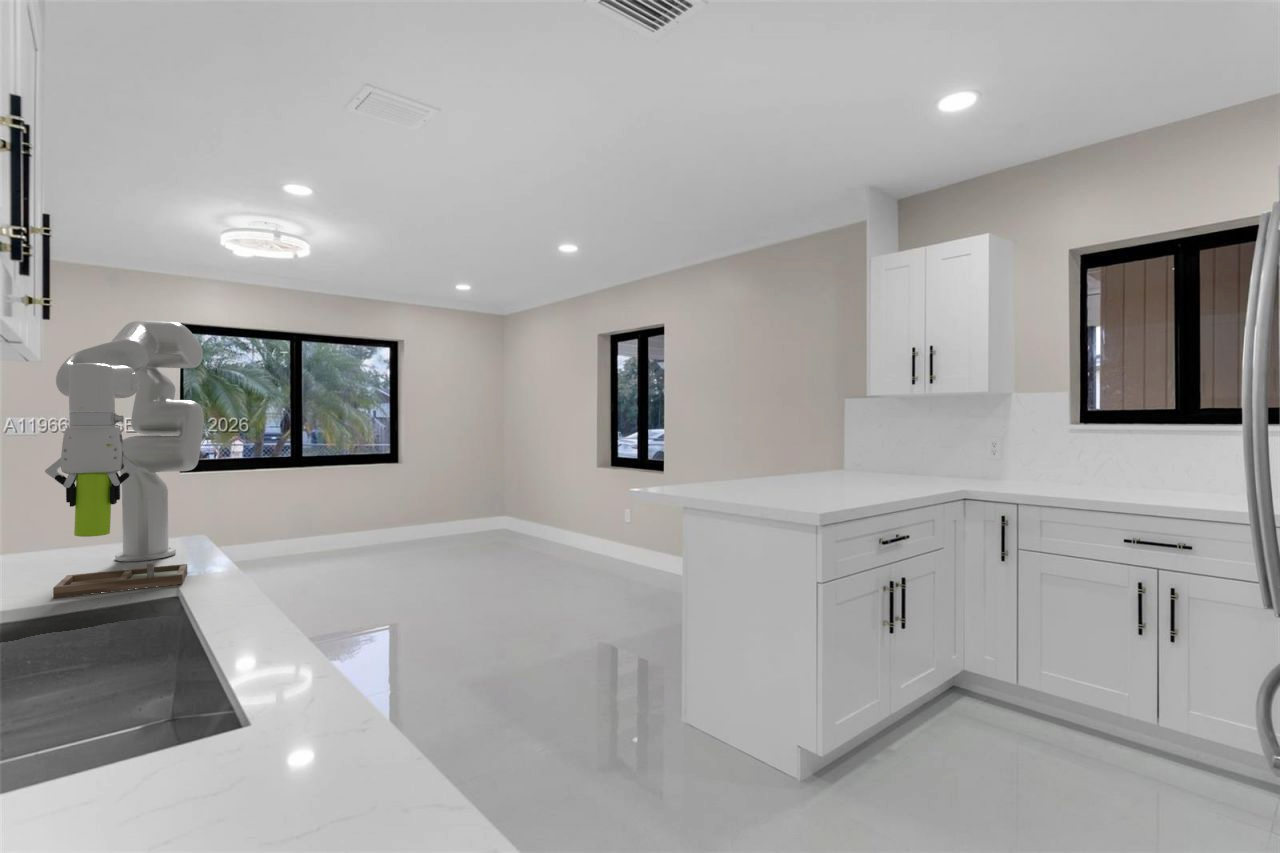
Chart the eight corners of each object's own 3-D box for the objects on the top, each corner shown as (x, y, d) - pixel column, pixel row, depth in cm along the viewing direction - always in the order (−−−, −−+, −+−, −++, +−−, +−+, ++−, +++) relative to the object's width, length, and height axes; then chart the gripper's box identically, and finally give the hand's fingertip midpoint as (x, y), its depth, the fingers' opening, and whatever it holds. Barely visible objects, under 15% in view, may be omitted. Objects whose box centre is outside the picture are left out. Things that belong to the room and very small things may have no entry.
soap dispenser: (98, 537, 137) (102, 442, 137) (66, 535, 137) (70, 441, 137) (121, 532, 143) (125, 441, 143) (90, 531, 143) (94, 440, 143)
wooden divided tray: (67, 585, 142) (67, 561, 142) (187, 573, 153) (187, 551, 153) (53, 598, 132) (52, 573, 132) (182, 584, 143) (182, 561, 143)
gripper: (145, 420, 147) (146, 500, 147) (44, 420, 138) (45, 505, 139) (140, 421, 140) (141, 504, 141) (33, 421, 132) (35, 510, 132)
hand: (93, 503), depth 140 cm, fingers closed on soap dispenser, 6 cm apart
